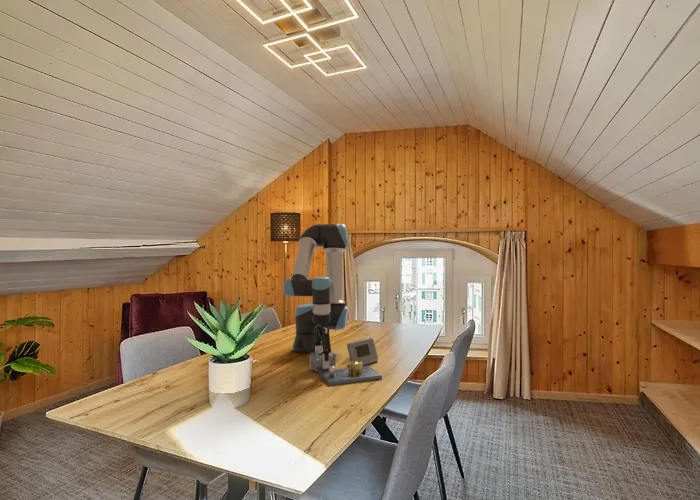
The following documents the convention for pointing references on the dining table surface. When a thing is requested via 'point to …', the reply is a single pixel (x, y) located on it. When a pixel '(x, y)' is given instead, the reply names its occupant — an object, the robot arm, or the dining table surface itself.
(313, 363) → the planet gear
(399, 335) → the dining table surface
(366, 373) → the carrier
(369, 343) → the digital clock
